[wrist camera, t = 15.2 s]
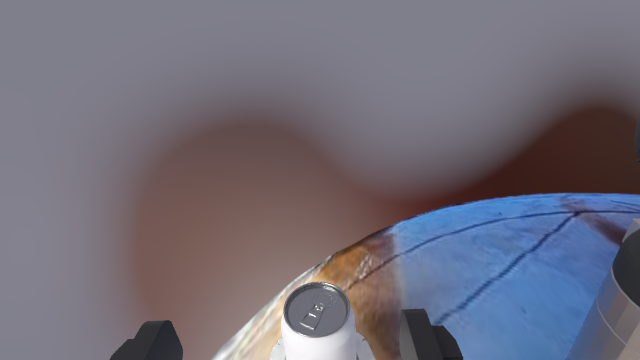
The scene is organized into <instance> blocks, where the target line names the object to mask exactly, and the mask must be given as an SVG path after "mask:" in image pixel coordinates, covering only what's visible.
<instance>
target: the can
mask: <svg viewBox="0 0 640 360" xmlns="http://www.w3.org/2000/svg"><path fill="white" fill-rule="evenodd" d="M281 331H282V337H283V343H284V349H285V355H286V360H356V325H355V316H354V312H353V309H352V307H351V306H350V302H349V299H348V297H347V295H346V294H345V293H344V292H343V291H342V290H341V289H340V288H339V287H337V286H335V285H333V284H330V283H326V282H312V283H308V284H305V285H302V286H300V287H298V288H297V289H295V290H294V291H293V292H292V293H291V294H290V295H289V297H288V298H287V300H286V302H285V305H284V313H283V316H282V320H281Z"/></svg>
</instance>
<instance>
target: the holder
mask: <svg viewBox="0 0 640 360" xmlns="http://www.w3.org/2000/svg"><path fill="white" fill-rule="evenodd" d="M269 360H286V355H285V349H284V343H283V337H282V338H280V339H279V340H278V341H277V344H275V346H274V348H273V350H272V353H271V355H270V358H269ZM356 360H375V357H374V355H373V353H372V351H371V349H370V346H369V344H368V342H367V340H365V337H363V336H362V335H361V334H359V333H358V332H357V331H356Z"/></svg>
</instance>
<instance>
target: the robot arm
mask: <svg viewBox="0 0 640 360" xmlns="http://www.w3.org/2000/svg"><path fill="white" fill-rule="evenodd" d="M635 152H636V156H637V159H638V162H639V165H640V117H639V120H638V123H637V127H636V131H635ZM399 346H400V353H401V358H402V360H463V356H462V354H461V351H460V349H459V347H458V344H457V342H456V340H455V339H454V337H453V336H452V335H451V334H450V333H449V332H448V331H447V329H446V328H445V327H444V326H431V324H430V321H429V318H428V315H427V313H426V311H425V310H424V309H407V310H402V311H401V319H400V332H399ZM182 357H183V349H182V345H181V343H180V341H179V338H178V336H177V334H176V332H175V329H174V327H173V325H172V323H171V321H169V320H164V321H147V322H145V323H144V324H143V325H142V326H141V328H140V329H139V331H138V333H137V335H136V336H135V338H134V339H128V340H127V341H126V342H125V343H124V344H123V345H122V346H121V347H120V348H119V349H118V350H117V351H116V352H115V353H114V354H113V355H112V357H111V358H110V360H182ZM566 360H640V229H638V230H636V231H635V232H633V233H632V234H630V235H629V236H628V237H627V238H626V239H625V241H624V242H623V244H622V245H621V247H620V249H619V251H618V253H617V255H616V257H615V259H614V262H613V263H612V266H611V268H610V270H609V272H608V274H607V276H606V278H605V280H604V282H603V284H602V286H601V288H600V290H599V293H598V295H597V297H596V299H595V301H594V303H593V305H592V307H591V309H590V311H589V314H588V316H587V318H586V320H585V322H584V324H583V326H582V328H581V330H580V332H579V334H578V336H577V338H576V340H575V342H574V344H573V347H572V349H571V351H570V353H569V355H568V357H567V359H566Z"/></svg>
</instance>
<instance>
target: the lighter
mask: <svg viewBox="0 0 640 360" xmlns="http://www.w3.org/2000/svg"><path fill="white" fill-rule="evenodd" d="M638 229H640V219H633V220H632V222H631V224H630V226H629V228H628V230H627V232H626V234H625V236H624V238H623V240H622V242H624V241H625V239H626V238H627V237H628V236H629V235H630V234H632V233H633V232H635V231H636V230H638Z"/></svg>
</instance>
